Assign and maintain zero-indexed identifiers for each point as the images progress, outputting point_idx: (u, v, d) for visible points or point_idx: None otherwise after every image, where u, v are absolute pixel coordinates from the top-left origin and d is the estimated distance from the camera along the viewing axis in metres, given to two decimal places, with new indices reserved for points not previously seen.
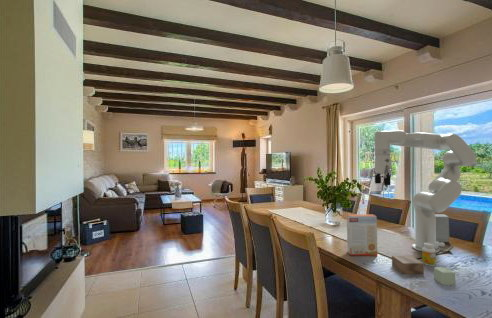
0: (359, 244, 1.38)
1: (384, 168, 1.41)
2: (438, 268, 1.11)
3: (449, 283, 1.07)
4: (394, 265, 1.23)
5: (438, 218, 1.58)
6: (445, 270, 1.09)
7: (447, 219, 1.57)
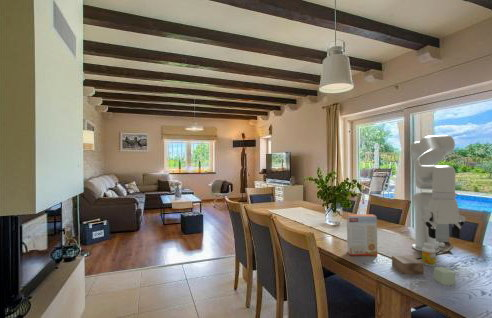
0: (359, 244, 1.38)
1: None
2: (438, 268, 1.11)
3: (449, 283, 1.07)
4: (394, 265, 1.23)
5: None
6: (445, 270, 1.09)
7: None
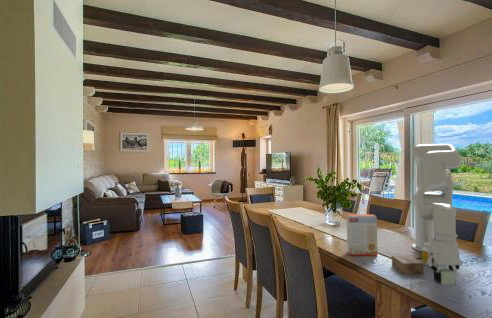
0: (359, 244, 1.38)
1: None
2: None
3: (449, 283, 1.07)
4: (394, 265, 1.23)
5: None
6: (445, 269, 1.09)
7: None
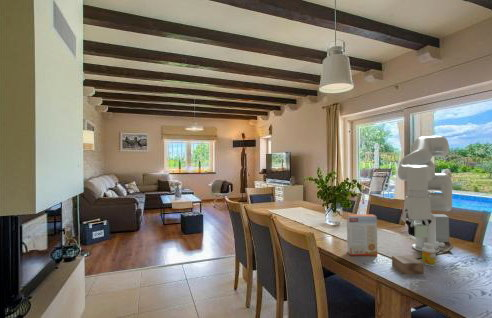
0: (359, 244, 1.38)
1: None
2: None
3: (422, 236, 1.15)
4: (394, 265, 1.23)
5: (438, 218, 1.58)
6: (418, 224, 1.17)
7: (447, 219, 1.57)
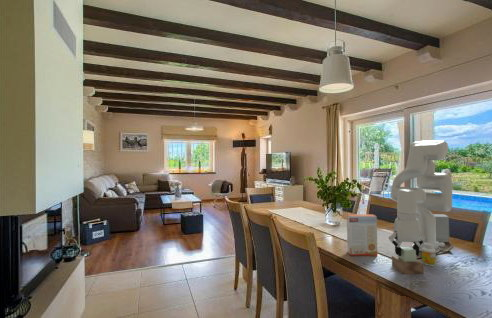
0: (359, 244, 1.38)
1: None
2: (402, 247, 1.23)
3: (410, 260, 1.19)
4: (394, 265, 1.23)
5: (438, 218, 1.58)
6: (407, 248, 1.21)
7: (447, 219, 1.57)
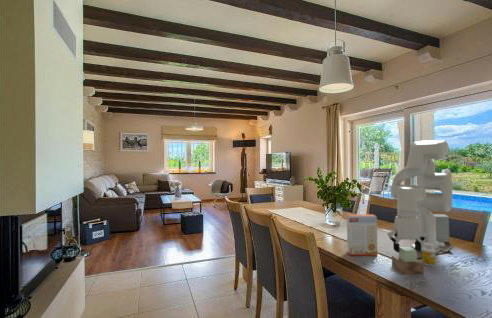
0: (359, 244, 1.38)
1: None
2: (402, 247, 1.22)
3: (411, 260, 1.18)
4: (394, 265, 1.23)
5: (438, 218, 1.58)
6: (408, 248, 1.21)
7: (447, 219, 1.57)
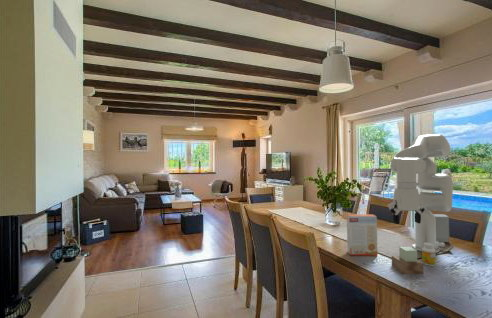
0: (359, 244, 1.38)
1: None
2: (403, 247, 1.22)
3: (411, 260, 1.18)
4: (394, 264, 1.24)
5: (438, 218, 1.58)
6: (409, 248, 1.21)
7: (447, 219, 1.57)
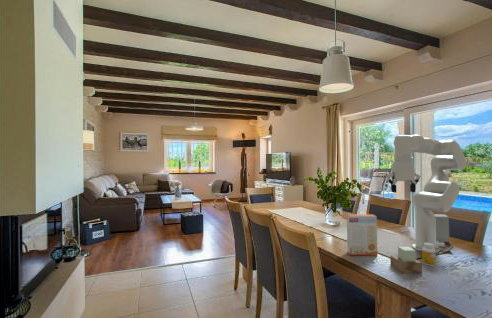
0: (359, 244, 1.38)
1: None
2: (401, 247, 1.23)
3: (410, 260, 1.19)
4: (393, 264, 1.24)
5: (438, 218, 1.58)
6: (407, 248, 1.21)
7: (447, 219, 1.57)
